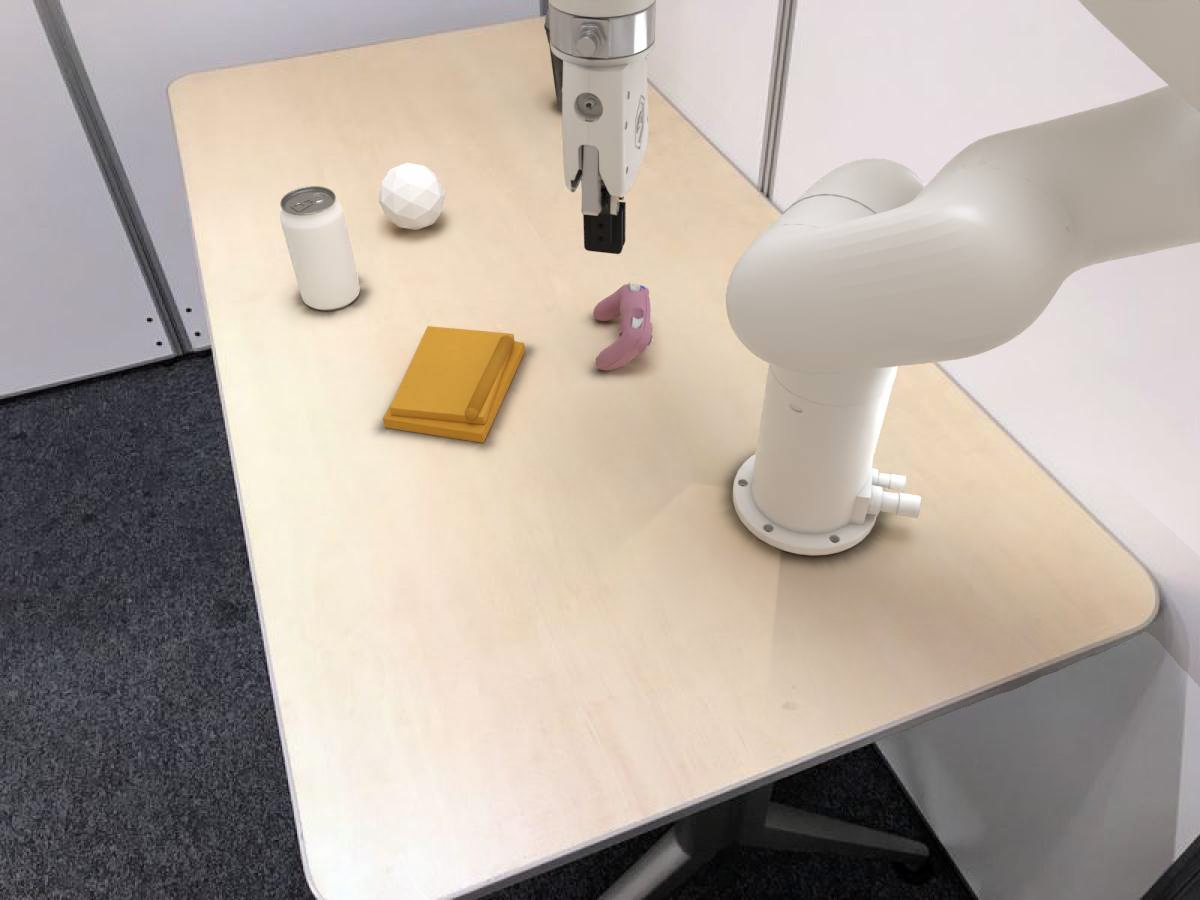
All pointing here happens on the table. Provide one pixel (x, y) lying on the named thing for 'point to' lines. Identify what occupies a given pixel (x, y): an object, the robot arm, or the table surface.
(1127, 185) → the robot arm
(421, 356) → the rag
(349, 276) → the can
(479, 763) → the table surface
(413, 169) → the ball
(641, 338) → the video game controller
